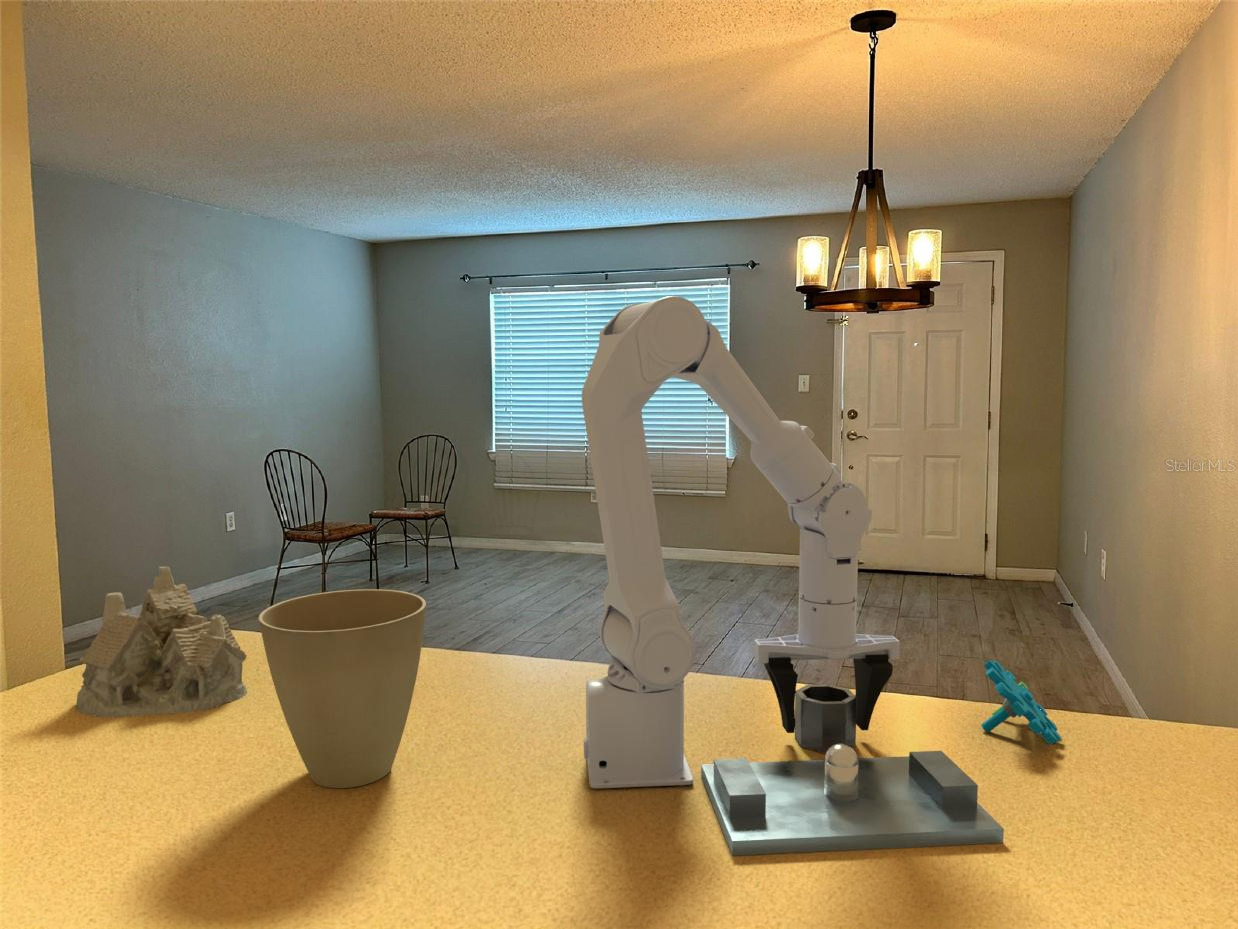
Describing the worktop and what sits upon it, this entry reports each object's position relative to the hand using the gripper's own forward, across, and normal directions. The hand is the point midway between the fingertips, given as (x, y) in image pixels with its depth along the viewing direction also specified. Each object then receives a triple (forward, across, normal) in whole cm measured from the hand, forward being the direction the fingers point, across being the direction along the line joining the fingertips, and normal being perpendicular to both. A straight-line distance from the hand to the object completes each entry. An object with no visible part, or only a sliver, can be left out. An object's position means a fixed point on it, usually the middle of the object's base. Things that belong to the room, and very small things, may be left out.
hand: (825, 728), depth 92 cm
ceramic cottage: (+2, -73, +20) cm, 76 cm away
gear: (+2, +21, 0) cm, 21 cm away
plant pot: (+2, -47, -3) cm, 47 cm away
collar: (+1, 0, 0) cm, 1 cm away
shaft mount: (+1, -3, -14) cm, 14 cm away
